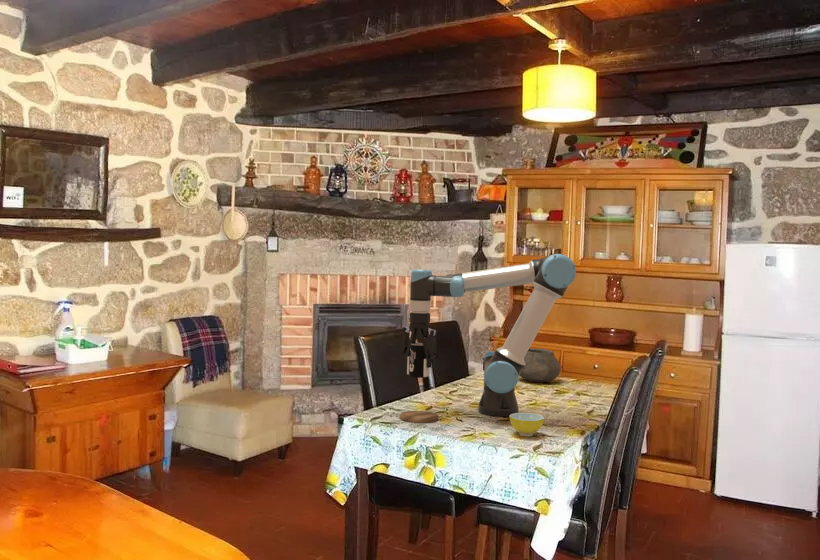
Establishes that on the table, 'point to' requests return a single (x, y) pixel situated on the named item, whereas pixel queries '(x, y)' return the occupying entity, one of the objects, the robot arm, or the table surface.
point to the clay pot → (540, 366)
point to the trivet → (419, 417)
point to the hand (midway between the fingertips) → (418, 375)
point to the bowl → (526, 423)
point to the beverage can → (416, 360)
